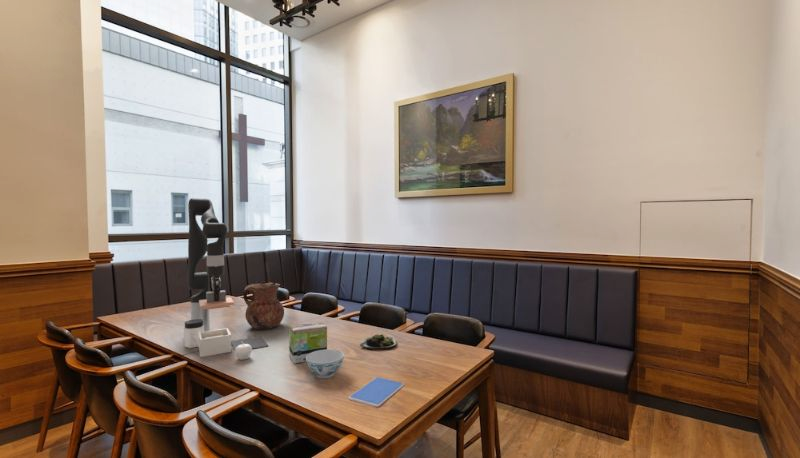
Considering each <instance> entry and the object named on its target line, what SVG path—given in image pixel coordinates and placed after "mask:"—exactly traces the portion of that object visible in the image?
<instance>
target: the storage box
mask: <svg viewBox="0 0 800 458" xmlns="http://www.w3.org/2000/svg"><path fill="white" fill-rule="evenodd" d="M198 338H199V347H198V351H199V357H200V358H204V357H209V356H214V355H215V356H216V355H220V354H226V353H231V352H232V344H231V341H232V334H231V331H230V330H229V328H228V327H227V328H220V329H219V328H218V329H214V330H213V329H212V330H209V331H205V332H198Z"/></svg>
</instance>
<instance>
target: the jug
mask: <svg viewBox="0 0 800 458" xmlns="http://www.w3.org/2000/svg"><path fill="white" fill-rule="evenodd" d="M280 286H281V284H280V283H277V282H276V283H274V282H266V283H252V284H249V285H246V286H245V288H244V291H243V294H242V295H243V297H242V298H243V300H244V303H245V304H246V305H247V307H246V310H245V313H244V314H245V320H246V322H247V324H248V325H249V326H250V327H251V328H253V329H255V330H269V329H273V328H275V327H277V326H279V325H280V323H282V321H283V319H284V317H285V309H284V306H283V303H282V302H281V301H280V300H279V299H278V298H277V295H278V294H277V293H278V290H279V288H280ZM248 292H251V294H252V299H251V300H249V298H248V294H247V293H248Z"/></svg>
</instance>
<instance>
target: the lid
mask: <svg viewBox="0 0 800 458" xmlns="http://www.w3.org/2000/svg"><path fill="white" fill-rule="evenodd" d="M213 292H214V291H209V292H206V295H207V299H205V300H199V304H200V308H204V309H205V310H207V309H209V310H214V309H216V310H217V309H223V308H229V307H230V306H233V305H235V301H234V300H233V299H232V297H231V296H227V293H226V292H227V291H226V290H224V289H223V290H220V293H219V301H214V293H213Z"/></svg>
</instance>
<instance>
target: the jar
mask: <svg viewBox="0 0 800 458" xmlns="http://www.w3.org/2000/svg"><path fill="white" fill-rule="evenodd" d="M198 332H204V325H203V320H201V319H194V320H191V319H189V320H186V321H184V327H183V347H185V348H189V349H191V348H197V347H198V348H199V338H198Z"/></svg>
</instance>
